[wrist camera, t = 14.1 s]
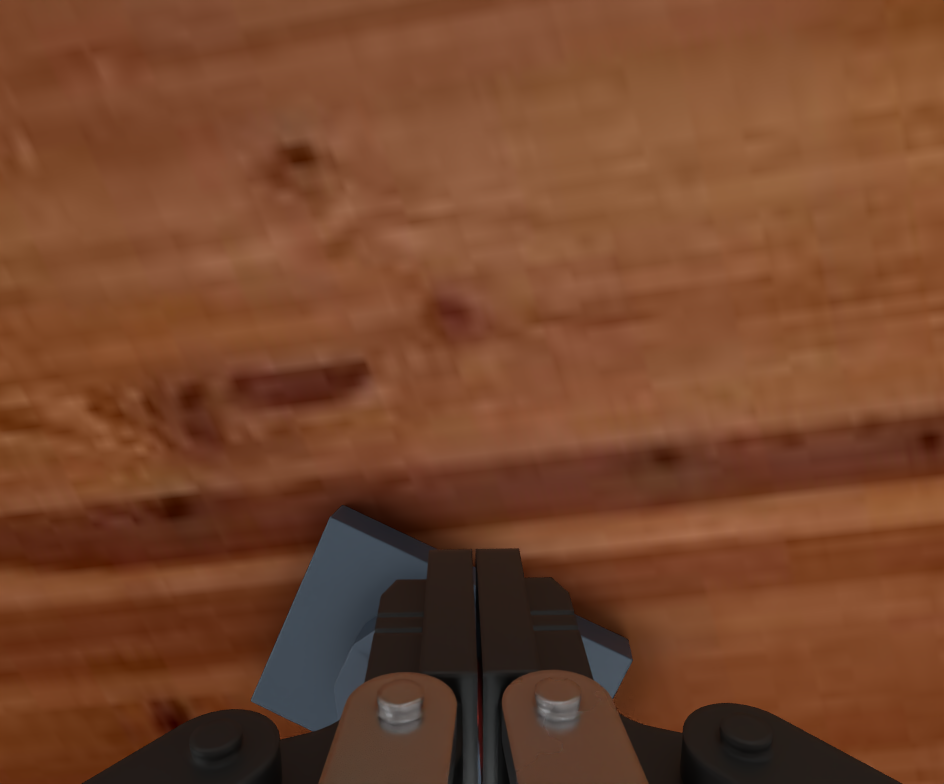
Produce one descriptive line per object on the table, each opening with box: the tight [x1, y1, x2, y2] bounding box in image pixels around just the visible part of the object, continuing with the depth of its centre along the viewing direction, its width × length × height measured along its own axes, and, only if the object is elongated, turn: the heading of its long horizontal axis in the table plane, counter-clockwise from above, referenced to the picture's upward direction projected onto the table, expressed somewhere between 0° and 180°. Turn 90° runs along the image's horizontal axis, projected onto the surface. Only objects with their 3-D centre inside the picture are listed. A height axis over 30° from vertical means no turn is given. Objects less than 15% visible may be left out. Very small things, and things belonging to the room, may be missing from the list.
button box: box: [251, 505, 633, 784], centre depth 28 cm, size 12×8×4 cm, turn 66°
